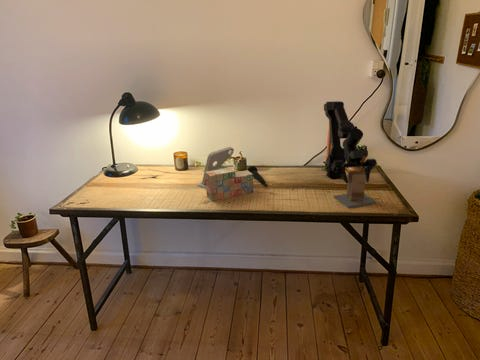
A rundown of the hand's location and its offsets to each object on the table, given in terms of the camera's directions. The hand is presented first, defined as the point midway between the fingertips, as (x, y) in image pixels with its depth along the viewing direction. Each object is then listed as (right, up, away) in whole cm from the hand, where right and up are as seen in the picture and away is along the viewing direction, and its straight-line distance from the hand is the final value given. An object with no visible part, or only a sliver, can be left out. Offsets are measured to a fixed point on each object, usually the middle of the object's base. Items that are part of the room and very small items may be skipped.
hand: (357, 182), depth 173 cm
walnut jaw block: (0, -7, +4) cm, 8 cm away
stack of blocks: (-55, -6, +15) cm, 58 cm away
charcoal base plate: (0, -8, +5) cm, 9 cm away
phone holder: (-63, 0, +29) cm, 69 cm away
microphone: (-42, +1, +31) cm, 52 cm away
